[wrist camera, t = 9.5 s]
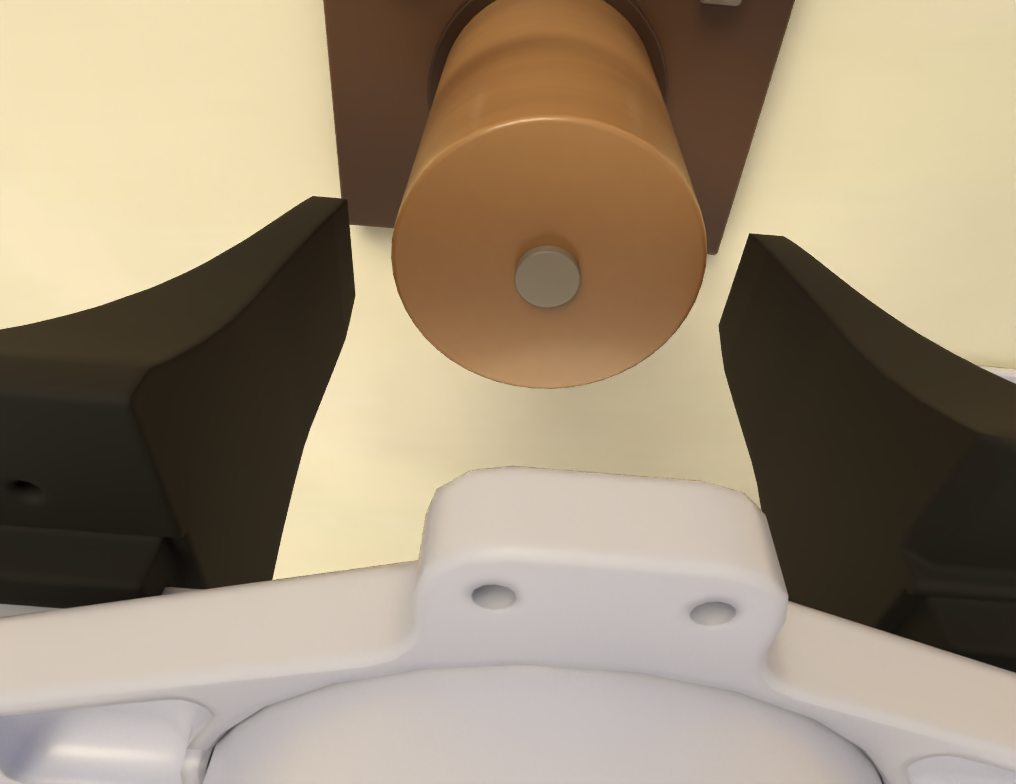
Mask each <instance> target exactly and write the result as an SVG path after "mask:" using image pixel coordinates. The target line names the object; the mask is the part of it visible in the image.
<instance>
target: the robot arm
mask: <svg viewBox="0 0 1016 784" xmlns="http://www.w3.org/2000/svg"><path fill="white" fill-rule="evenodd" d="M354 299H355V285H354V273H353V261H352V250H351V238H350V226H349V214H348V202H347V199H340V198H329V197H317V196H312V197H310V198H309V199H307V200H305V201H303V202H302V203H300V204H299V205H297V206H296V207H294V208H292V209H291V210H290V211H288V212H287V213H285V214H284V215H282V216H281V217H279V218H278V219H276V220H275V221H273V222H272V223H270V224H269V225H267V226H266V227H264V228H263V229H261V230H259V231H258V232H256V233H255V234H253V235H252V236H250V237H249V238H247V239H246V240H244V241H242V242H241V243H239V244H237V245H235V246H234V247H232V248H230V249H229V250H227V251H225V252H223V253H222V254H220V255H218V256H216V257H215V258H213V259H211V260H210V261H208V262H206V263H204V264H202V265H200V266H198V267H196V268H194V269H192V270H190V271H188V272H186V273H184V274H182V275H180V276H178V277H175V278H173V279H171V280H169V281H166V282H164V283H162V284H159V285H157V286H155V287H152V288H150V289H147V290H144V291H141V292H138V293H136V294H133V295H130V296H127V297H124V298H121V299H118V300H116V301H113V302H110V303H107V304H104V305H101V306H98V307H95V308H91V309H88V310H84V311H80V312H77V313H73V314H70V315H66V316H62V317H58V318H54V319H49V320H45V321H41V322H37V323H32V324H28V325H23V326H18V327H12V328H6V329H1V330H0V784H1016V369H1011V368H999V367H986V366H977V365H974V364H973V363H971V362H969V361H967V360H965V359H963V358H961V357H959V356H957V355H955V354H953V353H951V352H950V351H948V350H946V349H944V348H943V347H941V346H939V345H937V344H936V343H934V342H932V341H930V340H929V339H927V338H925V337H923V336H922V335H920V334H918V333H917V332H915V331H914V330H912V329H910V328H909V327H907V326H906V325H904V324H903V323H901V322H900V321H898V320H897V319H895V318H894V317H892V316H891V315H889V314H888V313H886V312H885V311H884V310H882V309H881V308H879V307H878V306H876V305H875V304H874V303H872V302H871V301H869V300H868V299H867V298H865V297H864V296H863V295H861V294H860V293H859V292H857V291H856V290H855V289H853V288H852V287H851V286H849V285H848V284H847V283H846V282H844V281H843V280H842V279H840V278H839V277H838V276H837V275H835V274H834V273H833V272H832V271H830V270H829V269H828V268H826V267H825V266H824V265H823V264H821V263H820V262H819V261H818V260H816V259H815V258H814V257H812V256H811V255H810V254H809V253H807V252H806V251H805V250H803V249H802V248H801V247H799V246H798V245H796V244H795V243H793V242H792V241H790V240H789V239H787V238H785V237H784V236H774V235H762V234H750V233H749V236H748V239H747V242H746V245H745V248H744V251H743V254H742V257H741V260H740V263H739V266H738V269H737V272H736V275H735V278H734V281H733V284H732V287H731V290H730V293H729V296H728V299H727V302H726V305H725V308H724V311H723V314H722V317H721V320H720V323H719V332H720V341H721V350H722V357H723V364H724V370H725V374H726V378H727V381H728V385H729V388H730V392H731V395H732V398H733V402H734V405H735V409H736V412H737V415H738V418H739V422H740V425H741V428H742V432H743V435H744V438H745V442H746V445H747V448H748V451H749V455H750V458H751V461H752V465H753V469H754V473H755V477H756V481H757V486H758V492H759V498H760V504H761V510H762V511H761V510H760V509H759V508H758V507H757V506H756V505H755V504H754V503H753V501H752V500H751V499H750V498H749V497H748V496H747V495H746V494H745V493H743V492H740V491H736V490H732V489H729V488H725V487H721V486H718V485H714V484H711V483H707V482H703V481H696V480H684V479H671V478H659V477H646V476H634V475H621V474H608V473H596V472H583V471H571V470H558V469H545V468H533V467H520V466H507V467H497V468H487V469H477V470H471V471H468V472H466V473H464V474H463V475H461V476H459V477H457V478H456V479H454V480H452V481H450V482H449V483H447V484H445V485H443V486H441V487H440V488H438V489H437V490H436V492H435V494H434V497H433V499H432V501H431V504H430V506H429V508H428V511H427V513H426V516H425V522H424V529H423V535H422V541H421V547H420V554H419V560H416V561H409V562H401V563H394V564H387V565H379V566H372V567H365V568H357V569H350V570H343V571H335V572H328V573H321V574H314V575H306V576H299V577H292V578H284V579H277V580H272V578H273V574H274V569H275V564H276V560H277V555H278V551H279V546H280V541H281V537H282V532H283V528H284V524H285V520H286V516H287V512H288V507H289V503H290V499H291V495H292V491H293V487H294V483H295V479H296V475H297V471H298V468H299V464H300V460H301V456H302V452H303V449H304V445H305V442H306V440H307V437H308V434H309V431H310V428H311V425H312V423H313V420H314V418H315V415H316V413H317V410H318V408H319V405H320V403H321V400H322V398H323V395H324V393H325V390H326V388H327V385H328V383H329V380H330V378H331V375H332V373H333V370H334V367H335V365H336V362H337V360H338V357H339V355H340V352H341V349H342V347H343V344H344V341H345V339H346V335H347V330H348V326H349V322H350V318H351V313H352V309H353V304H354Z"/></svg>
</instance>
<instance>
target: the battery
mask: <svg viewBox="0 0 1016 784" xmlns="http://www.w3.org/2000/svg"><path fill="white" fill-rule="evenodd" d="M427 98H428V110H429V116H428V119H427V123H426V126H425V129H424V132H423V135H422V139H421V142H420V145H419V148H418V151H417V154H416V158H415V161H414V164H413V167H412V170H411V173H410V177H409V180H408V183H407V186H406V189H405V192H404V196H403V199H402V202H401V205H400V208H399V211H398V215H397V218H396V221H395V226H394V231H393V236H392V252H391V259H392V268H393V276H394V279H395V283H396V287H397V291H398V293H399V296H400V298H401V300H402V303H403V305H404V307H405V309H406V311H407V313H408V314H409V316H410V318H411V319H412V321H413V323H414V324H415V326H416V327H417V328H418V329H419V331H420V332H421V333H422V334H423V336H424V337H425V338H426V339H427V340H428V341H429V342H430V343H431V344H432V345H433V346H434V347H435V348H436V349H437V350H439V351H440V352H441V353H442V354H444V355H445V356H446V357H448V358H449V359H450V360H452V361H453V362H455V363H457V364H458V365H460V366H462V367H463V368H465V369H467V370H469V371H471V372H473V373H476V374H478V375H480V376H482V377H485V378H488V379H491V380H494V381H497V382H501V383H505V384H509V385H514V386H520V387H528V388H545V389H553V388H568V387H574V386H580V385H586V384H590V383H593V382H597V381H601V380H604V379H606V378H609V377H612V376H614V375H617V374H619V373H621V372H623V371H625V370H627V369H629V368H631V367H633V366H635V365H637V364H638V363H640V362H641V361H643V360H644V359H646V358H647V357H649V356H650V355H652V354H653V353H654V352H655V351H656V350H658V349H659V348H660V347H661V346H662V345H664V344H665V343H666V342H667V340H668V339H669V338H670V337H671V336H672V335H673V334H674V333H675V332H676V331H677V329H678V328H679V327H680V325H681V324H682V323H683V321H684V320H685V319H686V317H687V315H688V313H689V312H690V310H691V308H692V306H693V304H694V303H695V301H696V298H697V295H698V293H699V290H700V288H701V285H702V282H703V277H704V272H705V268H706V258H707V240H706V229H705V225H704V221H703V217H702V213H701V210H700V207H699V204H698V201H697V198H696V195H695V192H694V189H693V186H692V183H691V180H690V177H689V174H688V171H687V168H686V165H685V162H684V159H683V156H682V153H681V150H680V147H679V144H678V141H677V138H676V135H675V132H674V129H673V126H672V123H671V120H670V117H669V114H668V111H667V109H666V105H667V99H668V77H667V68H666V63H665V59H664V55H663V51H662V48H661V45H660V42H659V40H658V37H657V35H656V32H655V30H654V28H653V26H652V24H651V23H650V21H649V19H648V17H647V16H646V14H645V13H644V11H643V10H642V9H641V8H640V6H639V5H638V4H637V2H636V1H635V0H464V1H463V2H462V4H461V5H460V6H459V7H458V8H457V9H456V10H455V12H454V13H453V15H452V16H451V18H450V19H449V21H448V22H447V24H446V25H445V27H444V29H443V31H442V34H441V36H440V38H439V40H438V42H437V45H436V48H435V51H434V54H433V57H432V60H431V65H430V70H429V75H428V88H427Z"/></svg>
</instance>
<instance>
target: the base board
mask: <svg viewBox="0 0 1016 784" xmlns="http://www.w3.org/2000/svg"><path fill="white" fill-rule="evenodd" d="M463 1H464V0H323V2H324V13H325V24H326V35H327V46H328V57H329V68H330V79H331V90H332V101H333V112H334V123H335V134H336V145H337V155H338V166H339V177H340V188H341V199H347V202H348V214H349V224H350V225H362V226H374V227H386V228H394V226H395V221H396V218H397V215H398V211H399V208H400V205H401V202H402V199H403V196H404V192H405V189H406V186H407V183H408V180H409V177H410V173H411V170H412V167H413V164H414V161H415V158H416V154H417V151H418V148H419V145H420V142H421V139H422V135H423V132H424V129H425V126H426V123H427V119H428V116H429V110H428V98H427V88H428V75H429V70H430V65H431V60H432V57H433V54H434V51H435V48H436V45H437V42H438V40H439V38H440V36H441V34H442V31H443V29H444V27H445V25H446V24H447V22H448V21H449V19H450V18H451V16H452V15H453V13H454V12H455V10H456V9H457V8H458V7H459V6H460V5H461V4H462V2H463ZM635 1H636V2H637V4H638V5H639V6H640V8H641V9H642V10H643V11H644V13H645V14H646V16H647V17H648V19H649V21H650V23H651V24H652V26H653V28H654V30H655V32H656V35H657V37H658V40H659V42H660V45H661V48H662V51H663V55H664V59H665V63H666V68H667V77H668V99H667V105H666V109H667V111H668V114H669V117H670V120H671V123H672V126H673V129H674V132H675V135H676V138H677V141H678V144H679V147H680V150H681V153H682V156H683V159H684V162H685V165H686V168H687V171H688V174H689V177H690V180H691V183H692V186H693V189H694V192H695V195H696V198H697V201H698V204H699V207H700V210H701V213H702V217H703V221H704V225H705V229H706V240H707V254H711V255H715V254H717V252H718V250H719V246H720V243H721V240H722V237H723V233H724V230H725V227H726V224H727V220H728V217H729V214H730V210H731V207H732V204H733V201H734V197H735V194H736V191H737V188H738V184H739V181H740V178H741V175H742V171H743V168H744V165H745V162H746V158H747V155H748V152H749V149H750V145H751V142H752V139H753V136H754V132H755V129H756V126H757V123H758V119H759V116H760V113H761V110H762V106H763V103H764V100H765V96H766V93H767V90H768V87H769V83H770V80H771V77H772V74H773V70H774V67H775V64H776V61H777V57H778V54H779V51H780V48H781V44H782V41H783V38H784V35H785V31H786V28H787V25H788V22H789V18H790V15H791V12H792V9H793V5H794V2H795V0H635Z"/></svg>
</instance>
